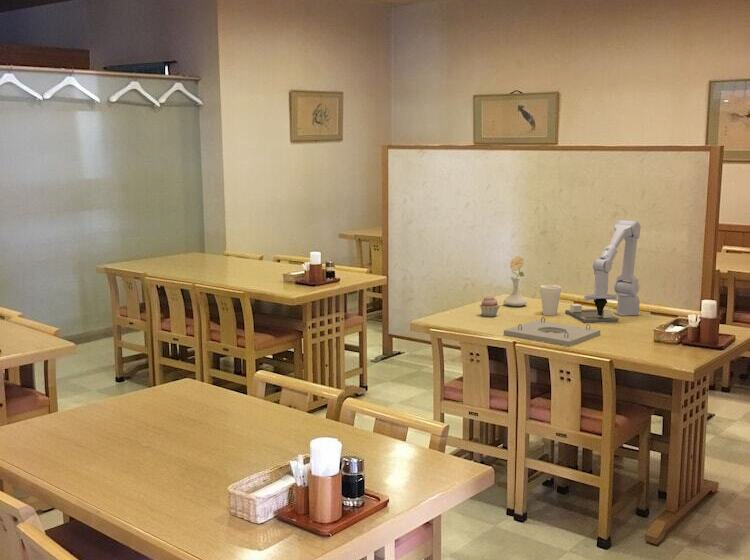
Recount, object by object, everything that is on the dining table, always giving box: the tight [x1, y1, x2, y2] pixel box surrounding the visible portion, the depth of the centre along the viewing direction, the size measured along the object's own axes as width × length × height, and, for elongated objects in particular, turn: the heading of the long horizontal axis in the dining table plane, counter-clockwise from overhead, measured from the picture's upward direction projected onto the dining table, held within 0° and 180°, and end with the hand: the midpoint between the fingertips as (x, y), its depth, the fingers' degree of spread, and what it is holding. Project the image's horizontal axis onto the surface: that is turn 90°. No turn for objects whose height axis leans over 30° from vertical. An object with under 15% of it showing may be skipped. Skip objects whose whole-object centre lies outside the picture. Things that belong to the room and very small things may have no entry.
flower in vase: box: [503, 255, 528, 307], centre depth 402 cm, size 13×11×25 cm
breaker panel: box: [564, 308, 619, 324], centre depth 377 cm, size 16×22×2 cm
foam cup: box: [540, 284, 562, 316], centre depth 383 cm, size 10×9×13 cm
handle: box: [569, 303, 583, 312], centre depth 383 cm, size 4×4×3 cm
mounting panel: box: [503, 316, 601, 347], centre depth 341 cm, size 27×5×30 cm
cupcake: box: [479, 294, 501, 318], centre depth 380 cm, size 9×9×10 cm
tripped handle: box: [601, 308, 613, 318], centre depth 370 cm, size 4×4×3 cm
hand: (599, 315), depth 370 cm, fingers closed
